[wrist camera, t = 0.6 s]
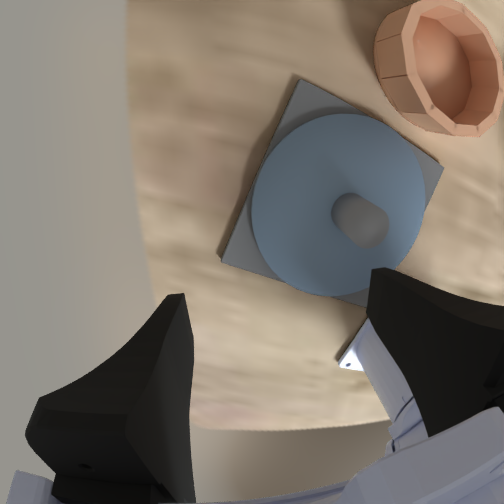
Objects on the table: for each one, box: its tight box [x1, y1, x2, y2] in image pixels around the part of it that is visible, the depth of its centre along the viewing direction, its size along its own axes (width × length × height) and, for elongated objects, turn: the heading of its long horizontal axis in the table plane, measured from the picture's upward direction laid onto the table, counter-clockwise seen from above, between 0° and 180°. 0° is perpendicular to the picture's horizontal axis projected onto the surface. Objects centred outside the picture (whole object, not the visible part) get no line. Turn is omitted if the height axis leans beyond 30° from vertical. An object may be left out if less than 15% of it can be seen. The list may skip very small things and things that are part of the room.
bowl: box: [373, 0, 504, 137], centre depth 16 cm, size 10×10×4 cm
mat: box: [221, 79, 444, 308], centre depth 21 cm, size 13×13×1 cm
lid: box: [251, 114, 425, 296], centre depth 19 cm, size 13×13×4 cm
